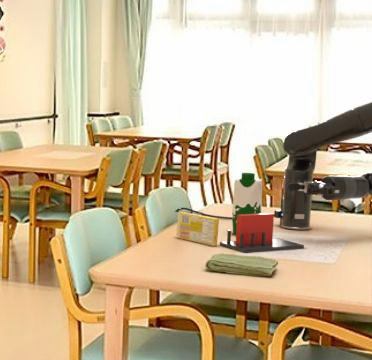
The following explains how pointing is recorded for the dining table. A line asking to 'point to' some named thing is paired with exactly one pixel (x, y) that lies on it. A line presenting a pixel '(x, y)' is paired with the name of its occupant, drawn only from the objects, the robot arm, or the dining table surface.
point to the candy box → (197, 228)
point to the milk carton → (246, 197)
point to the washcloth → (241, 264)
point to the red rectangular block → (255, 228)
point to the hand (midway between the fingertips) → (297, 189)
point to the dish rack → (276, 244)
